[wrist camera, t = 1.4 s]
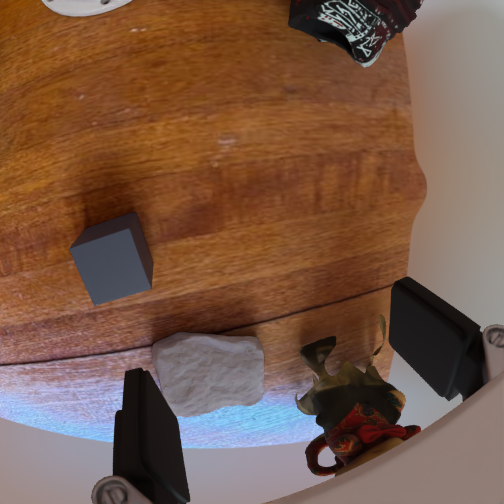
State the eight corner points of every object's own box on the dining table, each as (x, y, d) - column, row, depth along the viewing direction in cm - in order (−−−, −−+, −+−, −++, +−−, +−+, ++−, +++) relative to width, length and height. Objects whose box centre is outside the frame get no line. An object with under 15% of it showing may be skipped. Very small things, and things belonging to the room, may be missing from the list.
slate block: (84, 228, 24) (68, 248, 20) (136, 211, 25) (129, 227, 21) (104, 278, 26) (94, 306, 22) (153, 263, 27) (151, 289, 23)
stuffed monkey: (411, 335, 38) (487, 487, 18) (322, 398, 44) (365, 542, 24) (355, 291, 31) (460, 517, 11) (250, 375, 37) (285, 567, 17)
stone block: (145, 327, 31) (163, 402, 33) (144, 346, 26) (165, 427, 28) (254, 311, 34) (259, 385, 36) (268, 327, 30) (272, 407, 31)
